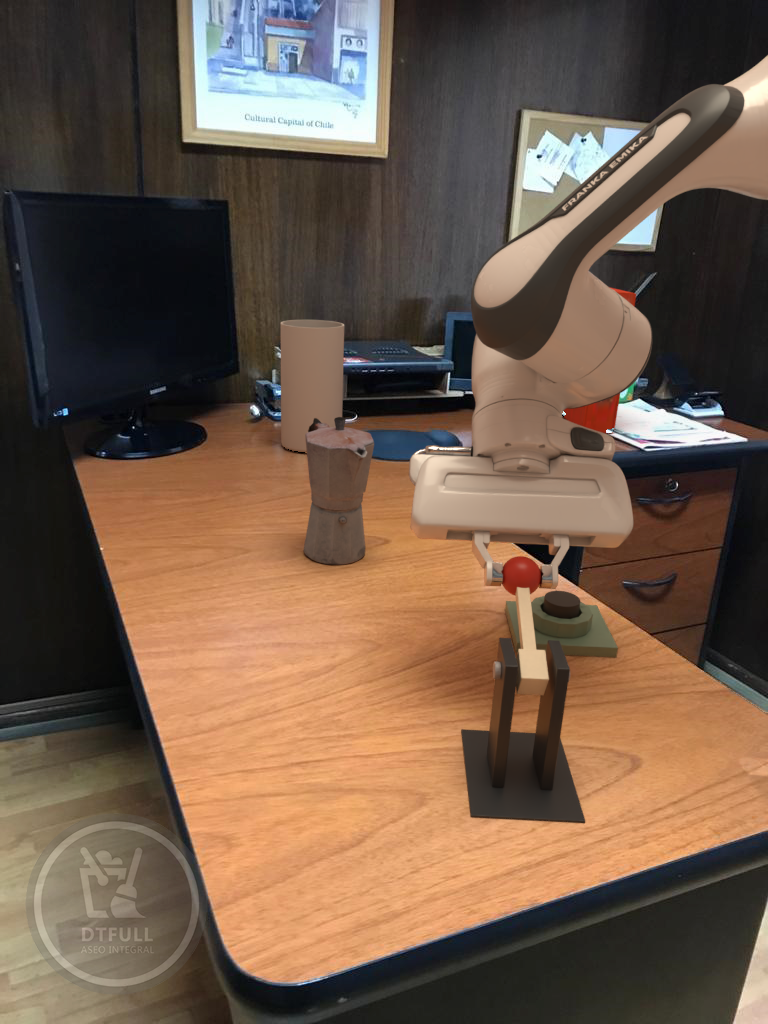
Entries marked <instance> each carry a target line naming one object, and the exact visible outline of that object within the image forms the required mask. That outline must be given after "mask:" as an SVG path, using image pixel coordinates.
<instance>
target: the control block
mask: <svg viewBox="0 0 768 1024" xmlns="http://www.w3.org/2000/svg"><path fill="white" fill-rule="evenodd" d="M544 597H545V595H542V596H538V597H535V598H534V599H533V600H531V606H532V615H533V623H534V632H535V641H536V649H537V650H545V651H546V650H547V642H548V640H556V641H560V644H561V646H562V649H563V652H564V654H565V656H578V657H579V656H580V657H598V658H618V657H617V656H618V650H619V647H618V645H617V643H616V641H615V639H614V637H613V635H612V632H611V631H610V629H609V627H608V625H607V623H606V621H605V619H604V617H603V615H602V613H601V611H600V609H599V607H598V605H596V604H585V603H583V602H582V601H581V600H580V608H579V615H578V617H576V618H572V619H561V618H556V617H553V616H549V615H548V614H546V613H545V612H543V604H544ZM504 612H505V616H506V619H507V623H508V627H509V631H510V635H511V640H512V644H513V648H514V652H515V653H516V654H517V653H518V649H521V646H520V636H519V626H518V616H517V606H516V600H505V605H504Z"/></svg>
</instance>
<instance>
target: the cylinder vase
mask: <svg viewBox="0 0 768 1024" xmlns="http://www.w3.org/2000/svg"><path fill="white" fill-rule="evenodd" d="M344 353H345V324H344V323H342V322H338V321H334V320H325V319H324V320H323V319H290V320H283V321H280V443H281V445H282V447H283V448H284V447H285V449H286V450H288V449H289V450H288V451H290V450H292V451H291V452H294V451H298V452H307V448H306V438H305V434H306V433H308V430H309V427H310V426H311V425H312V424H313V420H314V418H317V419H319V421H320V422H321V423H326V424H328V425H329V426H330V427H336V426H335V421H334V419H335V418H337V417H343V401H344V399H343V397H344V391H343V390H344V361H345V360H344ZM298 452H297V453H298Z"/></svg>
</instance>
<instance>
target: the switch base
mask: <svg viewBox="0 0 768 1024" xmlns="http://www.w3.org/2000/svg"><path fill="white" fill-rule="evenodd" d="M497 645H498V646H497V654H496V661H495V660H494V661H493V664H492V678H493V680H494V682H493V692H492V700H491V701H492V702H491V711H490V719H489V730H483V729H482V730H481V729H466V728H465V729H463V728H462V729H460V734H461V735H460V736H461V743H462V752H463V753H462V754H463V762H464V769H465V780H466V788H467V798H468V806H469V815H470V818H472V819H473V818H474V819H492V820H493V819H495V820H515V821H532V822H533V821H535V822H553V823H572V824H574V823H575V824H585V823H586V819H585V815H584V812H583V808H582V804H581V802H580V799H579V795H578V792H577V788H576V785H575V783H574V778H573V775H572V771H571V768H570V765H569V762H568V759H567V756H566V752H565V749H564V745H563V742H562V738H561V735H562V734H561V733H562V729H563V720H564V714H565V706H566V700H567V693H568V687H569V683H570V680H571V668H570V665H569V663H568V660H567V657H566V655H565V654H564V652H563V649H562V646H561V644H560V641H556V640H548V642H547V650H546V659H547V667H548V675H549V681H548V684H547V687H546V690H545V693H544V695H539V703H538V710H537V718H536V726H535V732H525V731H524V732H522V731H512V722H513V715H514V706H515V698H516V682H517V673H518V664H517V660H516V656H517V655H516V651H515V647H514V643H513V639H512V637H499V638H498V644H497Z"/></svg>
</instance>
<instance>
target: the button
mask: <svg viewBox="0 0 768 1024" xmlns="http://www.w3.org/2000/svg"><path fill="white" fill-rule="evenodd" d="M544 596H545V597H544V604H543V612H545V613H546V614H548V615H549V616H553V617H556V618H561V619H572V618H576V617H578V615H579V608H580V601H581V598H580V597H578V596H577V595H576V594H575V593H572V592H569V591H564V590H550V591H548V592H546V593H545V594H544Z"/></svg>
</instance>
